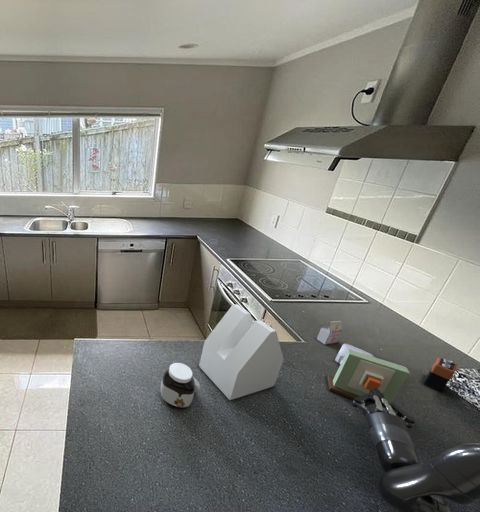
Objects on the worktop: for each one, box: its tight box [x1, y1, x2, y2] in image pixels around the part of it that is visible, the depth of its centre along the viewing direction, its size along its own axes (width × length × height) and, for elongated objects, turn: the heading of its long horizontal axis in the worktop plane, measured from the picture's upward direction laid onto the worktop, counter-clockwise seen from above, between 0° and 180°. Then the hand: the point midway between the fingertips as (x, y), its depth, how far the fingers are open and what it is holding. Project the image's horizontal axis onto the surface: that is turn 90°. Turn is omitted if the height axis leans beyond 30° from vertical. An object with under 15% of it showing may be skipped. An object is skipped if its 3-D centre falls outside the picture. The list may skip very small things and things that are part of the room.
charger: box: [334, 343, 375, 366], centre depth 105 cm, size 5×9×15 cm
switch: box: [364, 376, 381, 390], centre depth 87 cm, size 3×2×4 cm
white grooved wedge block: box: [198, 303, 285, 401], centre depth 95 cm, size 19×15×25 cm
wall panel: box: [326, 349, 411, 411], centre depth 91 cm, size 16×8×15 cm, turn 57°
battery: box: [423, 357, 458, 392], centre depth 98 cm, size 4×7×10 cm, turn 124°
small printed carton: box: [316, 320, 343, 346], centre depth 118 cm, size 4×7×10 cm, turn 103°
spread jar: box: [160, 362, 201, 409], centre depth 89 cm, size 12×11×12 cm
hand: (374, 391), depth 84 cm, fingers closed
